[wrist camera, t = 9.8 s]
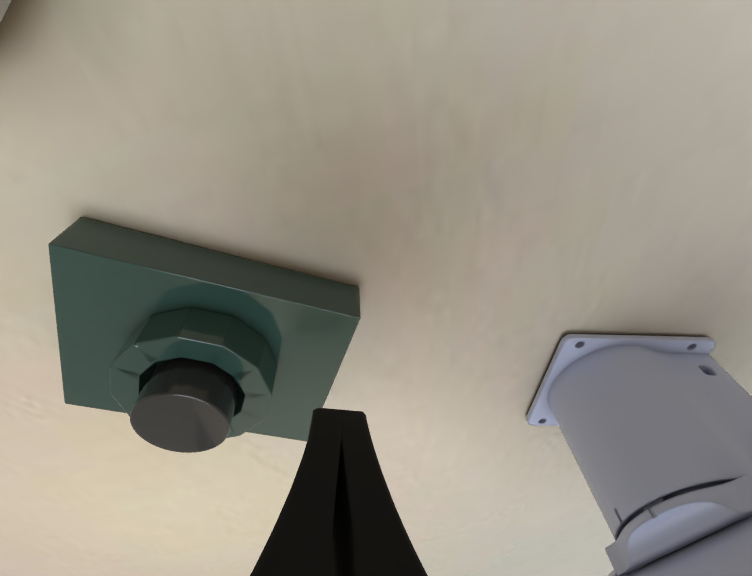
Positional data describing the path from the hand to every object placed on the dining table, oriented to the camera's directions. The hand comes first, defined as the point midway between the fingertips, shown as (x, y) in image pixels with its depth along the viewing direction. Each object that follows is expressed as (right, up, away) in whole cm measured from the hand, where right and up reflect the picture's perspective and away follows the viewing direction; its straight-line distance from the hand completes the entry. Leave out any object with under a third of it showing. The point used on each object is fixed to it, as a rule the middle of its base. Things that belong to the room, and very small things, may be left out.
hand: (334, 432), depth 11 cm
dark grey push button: (-7, -1, +8) cm, 11 cm away
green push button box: (-8, +2, +11) cm, 13 cm away
